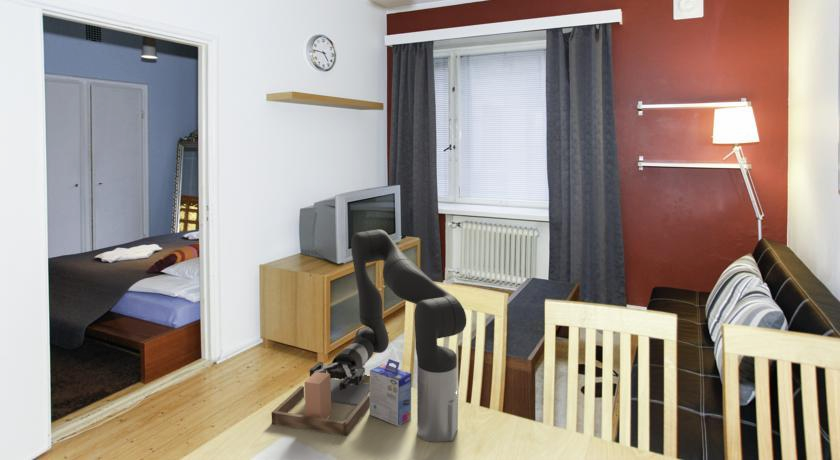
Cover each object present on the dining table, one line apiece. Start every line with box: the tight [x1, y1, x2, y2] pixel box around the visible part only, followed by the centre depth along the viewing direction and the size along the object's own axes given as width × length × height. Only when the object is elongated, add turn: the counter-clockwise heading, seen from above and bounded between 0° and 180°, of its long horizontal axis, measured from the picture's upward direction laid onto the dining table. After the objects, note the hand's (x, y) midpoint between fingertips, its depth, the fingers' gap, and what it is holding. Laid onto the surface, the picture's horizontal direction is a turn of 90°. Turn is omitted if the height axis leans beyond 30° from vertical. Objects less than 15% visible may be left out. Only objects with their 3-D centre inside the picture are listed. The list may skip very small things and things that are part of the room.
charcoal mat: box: [330, 378, 370, 407], centre depth 154 cm, size 14×12×1 cm
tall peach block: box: [304, 372, 332, 419], centre depth 139 cm, size 4×6×11 cm, turn 164°
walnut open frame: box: [270, 385, 370, 437], centre depth 141 cm, size 20×15×3 cm
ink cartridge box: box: [369, 358, 412, 427], centre depth 140 cm, size 10×6×14 cm, turn 53°
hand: (325, 385), depth 143 cm, fingers open, 8 cm apart
